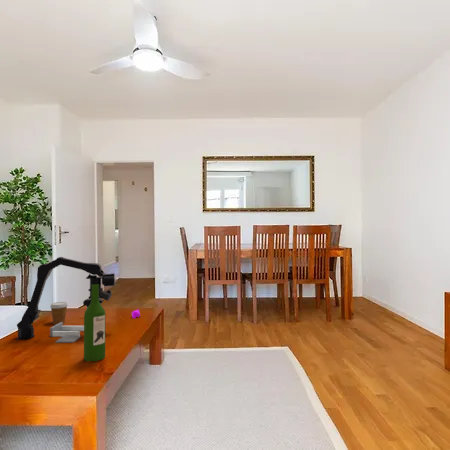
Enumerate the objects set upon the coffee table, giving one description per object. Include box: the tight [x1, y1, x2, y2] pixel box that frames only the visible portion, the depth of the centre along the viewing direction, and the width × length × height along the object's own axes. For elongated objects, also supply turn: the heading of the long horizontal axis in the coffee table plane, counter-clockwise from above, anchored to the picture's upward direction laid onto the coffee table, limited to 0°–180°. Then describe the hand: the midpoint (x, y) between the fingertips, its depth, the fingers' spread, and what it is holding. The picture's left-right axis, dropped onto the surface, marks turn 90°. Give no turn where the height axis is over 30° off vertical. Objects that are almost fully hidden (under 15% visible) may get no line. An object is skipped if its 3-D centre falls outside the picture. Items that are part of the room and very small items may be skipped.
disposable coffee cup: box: [50, 301, 68, 326], centre depth 208 cm, size 10×10×12 cm
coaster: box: [55, 335, 82, 344], centre depth 177 cm, size 9×9×1 cm
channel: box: [49, 322, 84, 338], centre depth 188 cm, size 15×11×4 cm
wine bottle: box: [83, 284, 106, 362], centre depth 152 cm, size 9×9×32 cm
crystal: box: [131, 309, 141, 319], centre depth 222 cm, size 5×5×5 cm
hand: (95, 315), depth 188 cm, fingers closed on block, 5 cm apart
